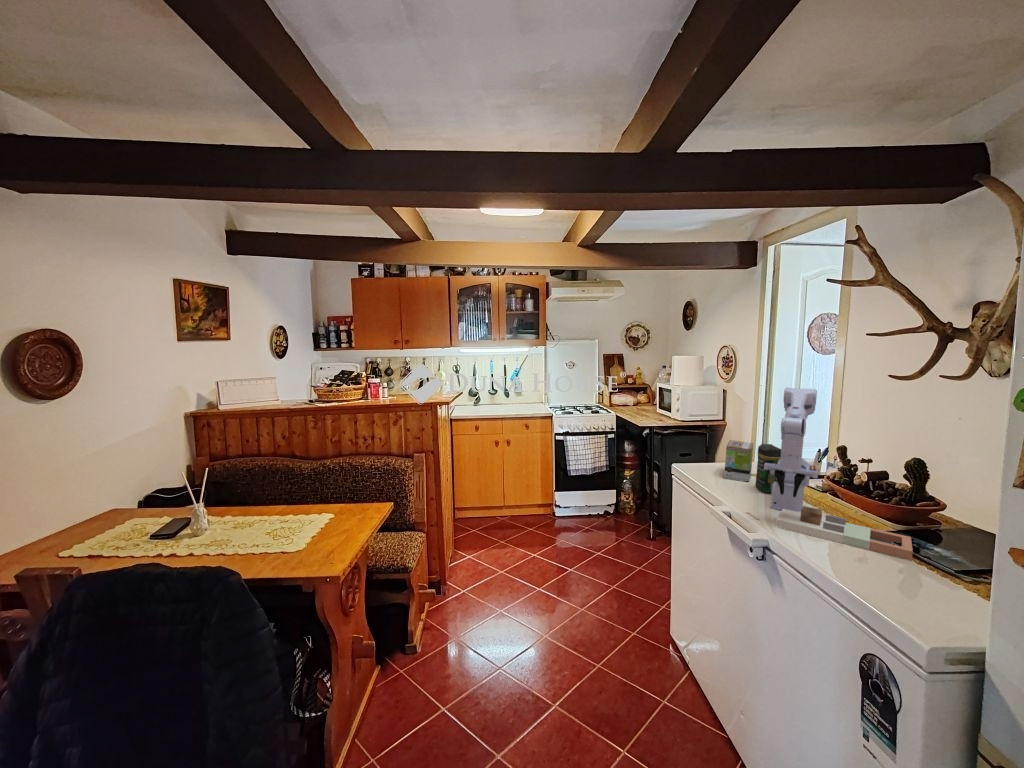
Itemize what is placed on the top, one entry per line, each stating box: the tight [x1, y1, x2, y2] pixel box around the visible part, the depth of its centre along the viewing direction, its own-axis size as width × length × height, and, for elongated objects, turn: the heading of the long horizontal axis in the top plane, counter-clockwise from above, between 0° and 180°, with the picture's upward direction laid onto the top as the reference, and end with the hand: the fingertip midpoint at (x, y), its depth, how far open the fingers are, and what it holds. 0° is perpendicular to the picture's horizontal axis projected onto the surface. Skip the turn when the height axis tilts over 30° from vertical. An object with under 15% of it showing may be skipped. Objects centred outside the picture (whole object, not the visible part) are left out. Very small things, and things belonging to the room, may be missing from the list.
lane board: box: [775, 509, 914, 561], centre depth 131 cm, size 32×12×4 cm, turn 49°
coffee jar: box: [755, 443, 781, 495], centre depth 171 cm, size 10×8×19 cm
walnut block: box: [800, 505, 823, 526], centre depth 135 cm, size 5×5×4 cm
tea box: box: [723, 439, 754, 482], centre depth 190 cm, size 15×10×15 cm
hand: (788, 494), depth 139 cm, fingers open, 3 cm apart
